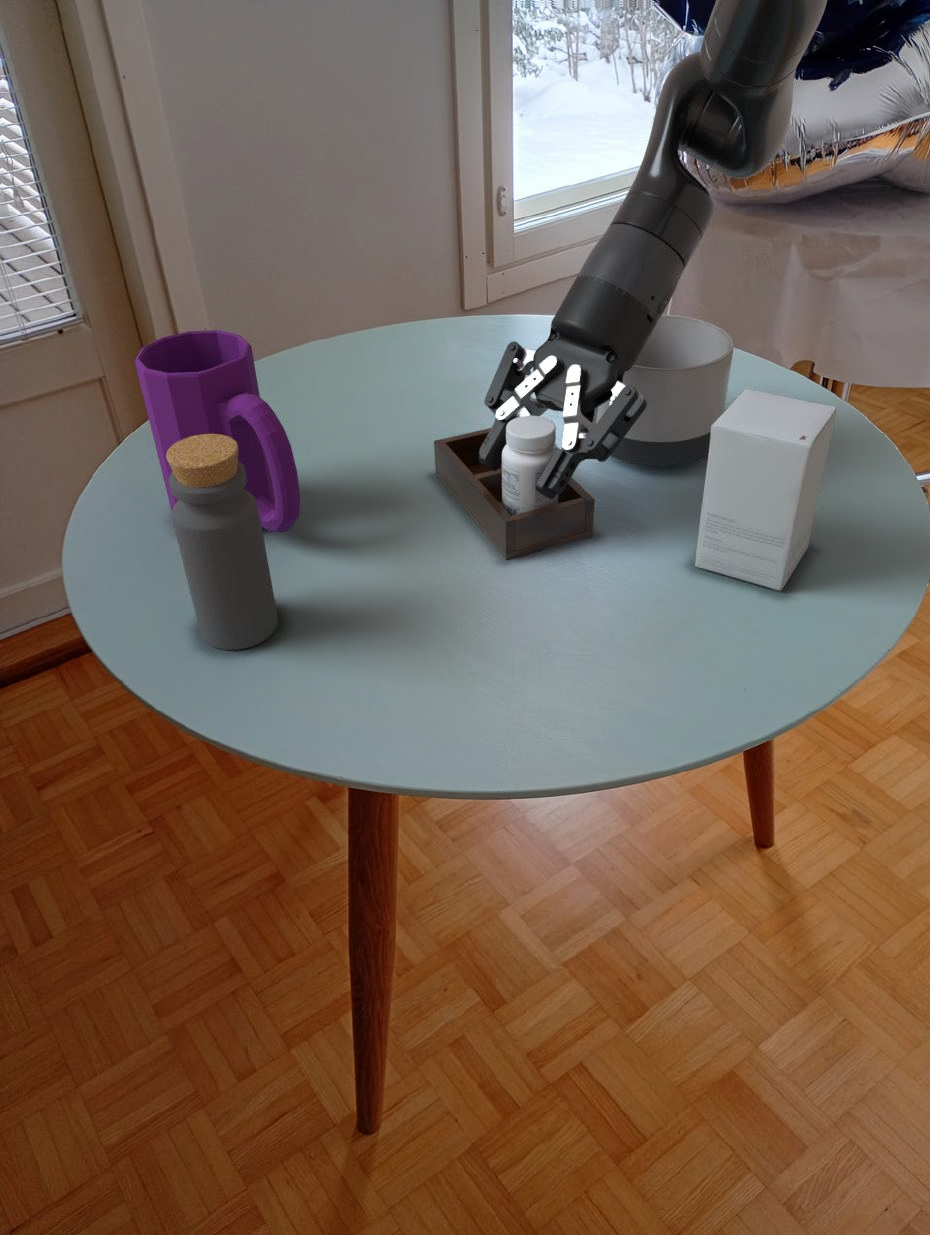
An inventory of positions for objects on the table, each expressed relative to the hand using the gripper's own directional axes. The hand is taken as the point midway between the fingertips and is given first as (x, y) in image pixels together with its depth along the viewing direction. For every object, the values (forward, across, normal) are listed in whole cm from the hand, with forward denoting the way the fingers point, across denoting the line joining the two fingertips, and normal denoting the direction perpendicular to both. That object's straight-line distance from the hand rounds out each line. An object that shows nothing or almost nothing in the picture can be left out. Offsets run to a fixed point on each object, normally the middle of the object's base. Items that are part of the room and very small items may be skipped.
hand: (514, 479), depth 80 cm
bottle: (+21, -6, -13) cm, 25 cm away
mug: (+15, -18, -7) cm, 24 cm away
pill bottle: (+2, 0, +4) cm, 5 cm away
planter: (-11, -1, +18) cm, 21 cm away
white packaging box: (-4, +16, +11) cm, 20 cm away
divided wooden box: (+1, -3, +6) cm, 7 cm away
